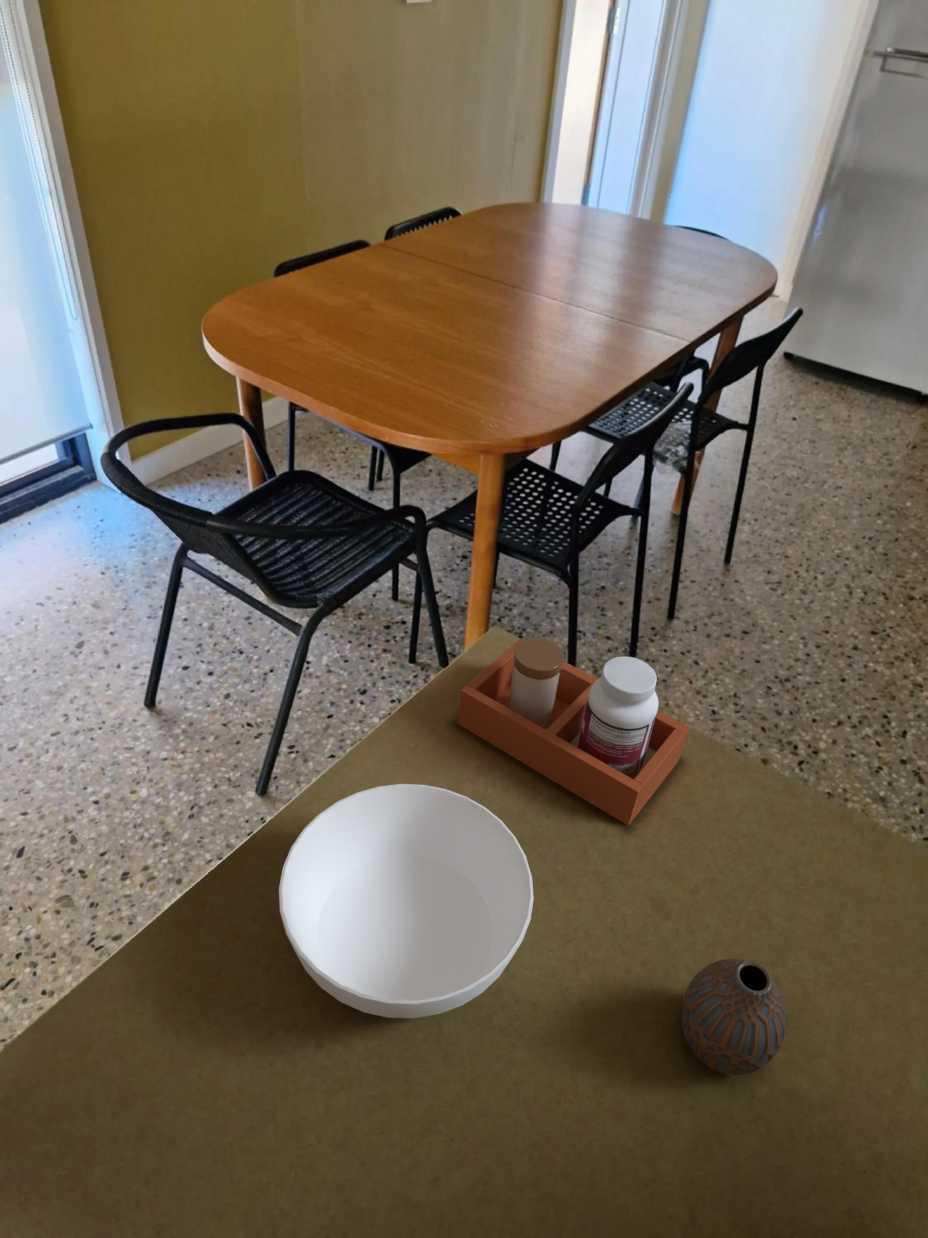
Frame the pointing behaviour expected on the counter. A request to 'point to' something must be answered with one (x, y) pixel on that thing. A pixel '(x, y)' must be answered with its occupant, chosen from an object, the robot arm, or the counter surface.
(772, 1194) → the counter surface
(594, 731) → the pill bottle
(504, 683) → the divided tray
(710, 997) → the vase
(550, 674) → the spice jar
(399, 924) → the bowl
